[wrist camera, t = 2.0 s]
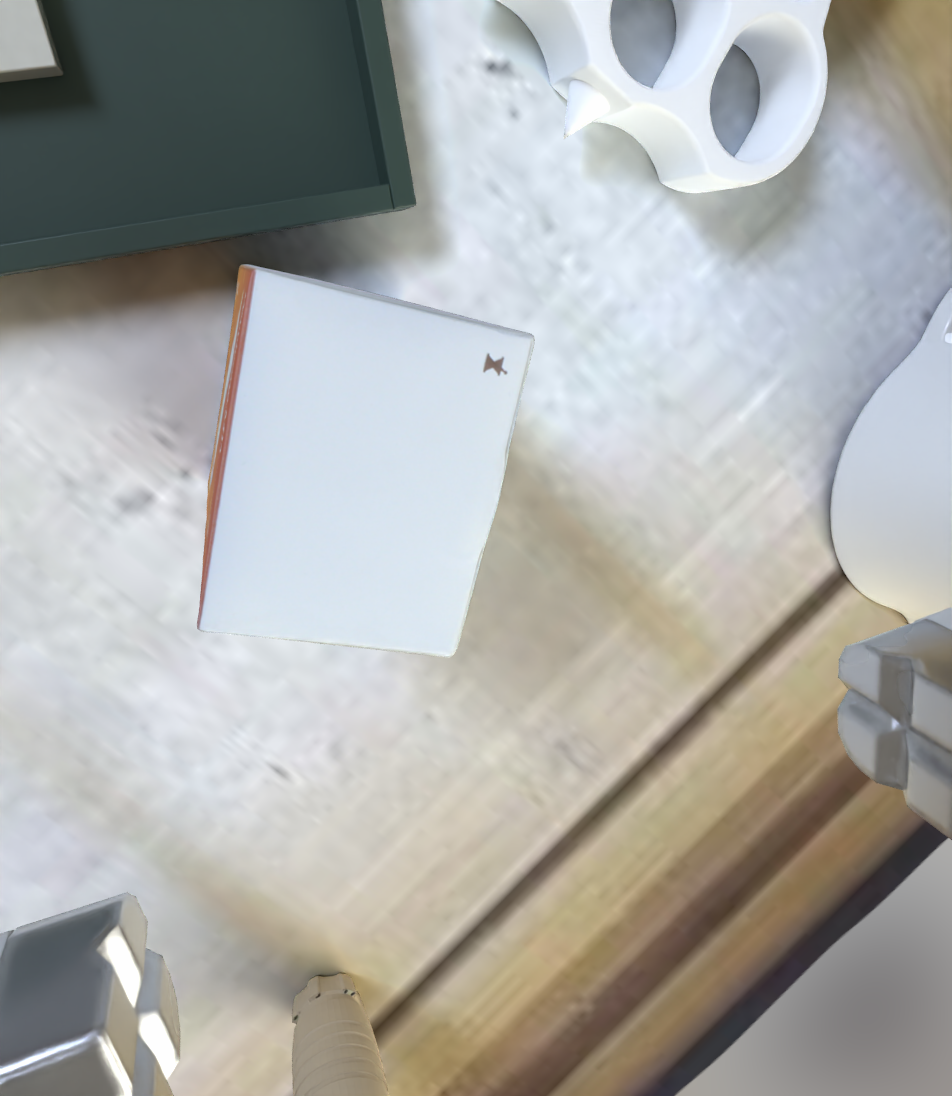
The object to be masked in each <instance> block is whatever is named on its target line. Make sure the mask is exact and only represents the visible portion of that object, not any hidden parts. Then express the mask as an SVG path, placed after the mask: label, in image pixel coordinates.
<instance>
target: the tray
mask: <svg viewBox="0 0 952 1096" xmlns="http://www.w3.org/2000/svg"><path fill="white" fill-rule="evenodd" d="M41 3H42V6H43V9H44V12H45V15H46V19H47V22H48V25H49V28H50V31H51V35H52V38H53V41H54V44H55V47H56V51H57V54H58V57H59V60H60V63H61V67H62V70H63V75H62V76H53V77H44V78H36V79H27V80H18V81H9V82H0V276H5V275H11V274H17V273H24V272H30V271H36V270H42V269H48V268H54V267H60V266H66V265H72V264H78V263H84V262H90V261H97V260H103V259H109V258H115V257H121V256H127V255H133V254H139V253H145V252H151V251H157V250H163V249H169V248H176V247H182V246H188V245H194V244H200V243H206V242H212V241H218V240H224V239H230V238H236V237H242V236H249V235H255V234H261V233H267V232H273V231H279V230H285V229H291V228H297V227H303V226H309V225H315V224H321V223H328V222H334V221H340V220H346V219H352V218H358V217H364V216H370V215H376V214H382V213H388V212H394V211H400V210H405V209H407V208H411V207H414V206H415V205H416V199H415V193H414V188H413V182H412V176H411V170H410V164H409V159H408V153H407V147H406V141H405V135H404V130H403V124H402V118H401V112H400V106H399V101H398V95H397V89H396V83H395V77H394V72H393V66H392V60H391V54H390V48H389V43H388V37H387V31H386V25H385V19H384V14H383V8H382V2H381V0H41Z"/></svg>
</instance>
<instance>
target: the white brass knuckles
mask: <svg viewBox="0 0 952 1096" xmlns="http://www.w3.org/2000/svg"><path fill="white" fill-rule="evenodd" d="M496 1H498V2H500V3H502V4H503V5H505V6H506V7H508V8H509V9H510V10H512V11H513V12H514V13H515V14H516V15H517V16H519V17H520V19H521V20H522V21H523V22H524V23H525V24H526V25H527V27H528V28H529V29H530V31H531V32H532V34H533V35H534V37H535V39H536V40H537V42H538V44H539V46H540V48H541V51H542V53H543V56H544V58H545V62H546V65H547V69H548V73H549V79H550V85H551V86H552V87H553V88H554V89H555V90H556V91H557V92H558V93H560V94H561V95H562V96H563V97H564V98H565V99H566V100H567V111H566V120H565V130H564V139H565V138H566V137H568V136H570V135H571V134H573V133H574V132H576V131H578V130H579V129H581V128H582V127H584V126H586V125H587V124H589V123H590V122H599V123H606V124H610V125H613V126H616V127H618V128H620V129H622V130H624V131H626V132H627V133H629V134H630V135H631V136H633V137H634V138H635V139H636V140H637V141H638V142H639V143H640V144H641V145H642V146H643V148H644V149H645V150H646V152H647V153H648V155H649V156H650V158H651V160H652V162H653V164H654V166H655V169H656V171H657V174H658V178H659V181H660V183H662V184H664V185H665V186H667V187H669V188H672V189H674V190H677V191H681V192H686V193H705V192H711V191H718V190H724V189H731V188H737V187H744V186H750V185H754V184H757V183H760V182H763V181H765V180H768V179H770V178H771V177H773V176H775V175H776V174H778V173H779V172H781V171H782V170H784V169H785V168H786V167H787V166H788V165H789V164H790V163H791V162H792V161H793V160H794V159H795V158H796V157H797V156H798V155H799V154H800V152H801V151H802V150H803V148H804V147H805V146H806V144H807V142H808V141H809V139H810V137H811V136H812V134H813V132H814V130H815V127H816V125H817V123H818V120H819V118H820V115H821V112H822V108H823V104H824V100H825V95H826V88H827V77H828V64H827V53H826V47H825V42H824V37H823V28H824V24H825V20H826V17H827V14H828V10H829V7H830V3H831V0H672V2H673V5H674V9H675V15H676V37H675V43H674V47H673V50H672V53H671V55H670V57H669V60H668V61H667V63H666V65H665V67H664V69H663V70H662V72H661V74H660V76H659V78H658V79H657V81H656V83H655V84H654V86H653V87H652V88H650V87H647V86H644V85H642V84H641V83H639V82H637V81H636V80H635V79H633V78H632V77H631V76H630V75H629V74H628V73H627V71H626V70H625V69H624V67H623V66H622V64H621V63H620V61H619V59H618V57H617V55H616V52H615V49H614V46H613V42H612V38H611V31H610V12H611V5H612V1H613V0H496ZM732 44H735V45H737V46H738V47H740V48H741V49H742V50H743V51H744V52H745V53H746V54H747V55H748V56H749V58H750V59H751V61H752V63H753V64H754V67H755V69H756V72H757V75H758V79H759V85H760V103H759V109H758V113H757V117H756V119H755V122H754V124H753V126H752V128H751V130H750V132H749V134H748V135H747V137H746V139H745V140H744V142H743V144H742V146H741V147H740V149H739V151H738V152H737V153H736V155H735V156H734V157H733V156H732V155H730V154H729V153H728V152H727V151H726V150H725V149H724V148H723V146H722V145H721V144H720V142H719V140H718V139H717V137H716V134H715V132H714V129H713V126H712V121H711V115H710V96H711V89H712V85H713V81H714V78H715V75H716V73H717V71H718V69H719V67H720V65H721V63H722V62H723V60H724V58H725V56H726V55H727V53H728V51H729V49H730V48H731V46H732Z"/></svg>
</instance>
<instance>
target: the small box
mask: <svg viewBox="0 0 952 1096" xmlns="http://www.w3.org/2000/svg"><path fill="white" fill-rule="evenodd" d="M533 348H534V336H533V335H532V334H530V333H526V332H522V331H518V330H514V329H510V328H506V327H503V326H499V325H495V324H491V323H487V322H484V321H480V320H476V319H472V318H468V317H465V316H461V315H457V314H453V313H449V312H446V311H442V310H438V309H434V308H430V307H426V306H422V305H419V304H415V303H411V302H407V301H403V300H399V299H395V298H391V297H387V296H383V295H379V294H375V293H371V292H367V291H363V290H359V289H355V288H350V287H346V286H342V285H338V284H334V283H329V282H325V281H321V280H317V279H312V278H308V277H304V276H299V275H295V274H290V273H285V272H281V271H276V270H271V269H267V268H262V267H257V266H253V265H248V264H246V265H240V267H239V271H238V280H237V289H236V296H235V303H234V310H233V318H232V326H231V333H230V341H229V348H228V355H227V362H226V369H225V376H224V383H223V390H222V397H221V403H220V410H219V416H218V423H217V430H216V436H215V443H214V450H213V456H212V463H211V469H210V475H209V480H208V497H207V520H206V528H205V545H204V555H203V571H202V584H201V594H200V607H199V615H198V621H197V629H198V630H200V631H203V632H211V633H222V634H233V635H243V636H254V637H265V638H274V639H283V640H292V641H301V642H311V643H320V644H330V645H339V646H348V647H358V648H367V649H376V650H386V651H395V652H404V653H413V654H422V655H431V656H440V657H451V656H453V654H454V653H455V652H456V650H457V648H458V644H459V640H460V637H461V633H462V630H463V627H464V623H465V619H466V615H467V612H468V608H469V604H470V601H471V597H472V594H473V590H474V586H475V582H476V578H477V574H478V570H479V567H480V563H481V559H482V556H483V552H484V548H485V544H486V541H487V538H488V535H489V532H490V529H491V525H492V522H493V519H494V516H495V513H496V509H497V505H498V501H499V497H500V493H501V489H502V484H503V480H504V476H505V471H506V466H507V459H508V453H509V448H510V443H511V439H512V435H513V431H514V426H515V422H516V418H517V414H518V410H519V406H520V402H521V397H522V393H523V388H524V384H525V380H526V376H527V372H528V368H529V364H530V360H531V356H532V352H533Z"/></svg>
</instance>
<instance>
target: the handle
mask: <svg viewBox="0 0 952 1096" xmlns="http://www.w3.org/2000/svg"><path fill="white" fill-rule="evenodd" d="M292 1023H296V1027H295V1029H294V1039H293V1052H292V1074H293V1096H389V1094H388V1088H387V1083H386V1079H385V1074H384V1069H383V1065H382V1061H381V1057H380V1054H379V1050H378V1047H377V1043H376V1040H375V1036H374V1033H373V1030H372V1027H371V1024H370V1022H369V1019H368V1017H367V1015H366V1012H365V1009H364V1006H363V1003H362V1000H361V998H360V995H359V993H358V992H357V991H356V989H355V986H354V983H353V981H352V979H351V977H350V976H348V975H346V974H343V973H339V974H337V975H334V976H327V977H322V976H315V977H313V978H312V979H310V980H309V981H308V985H307V986H306V988H305V989H304V990H303V991H302V992H300V993H299V994H297V995H296V997H295V998H294V1002H293V1011H292Z"/></svg>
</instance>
